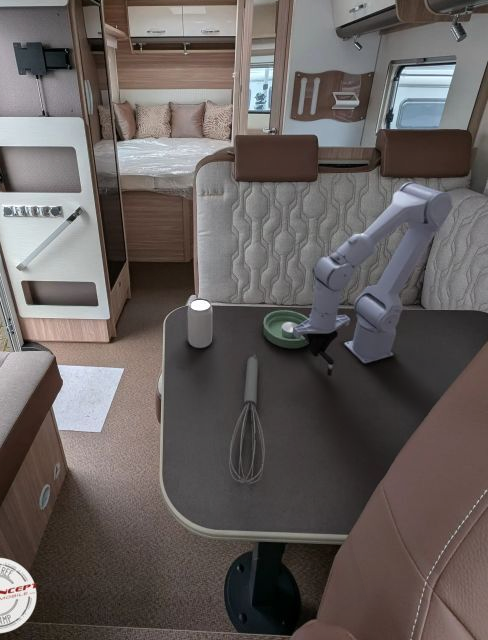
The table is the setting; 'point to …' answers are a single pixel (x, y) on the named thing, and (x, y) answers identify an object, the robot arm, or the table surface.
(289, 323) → the ladle
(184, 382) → the table surface
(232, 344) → the table surface
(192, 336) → the can
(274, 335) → the bowl
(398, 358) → the table surface
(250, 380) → the kitchen whisk
